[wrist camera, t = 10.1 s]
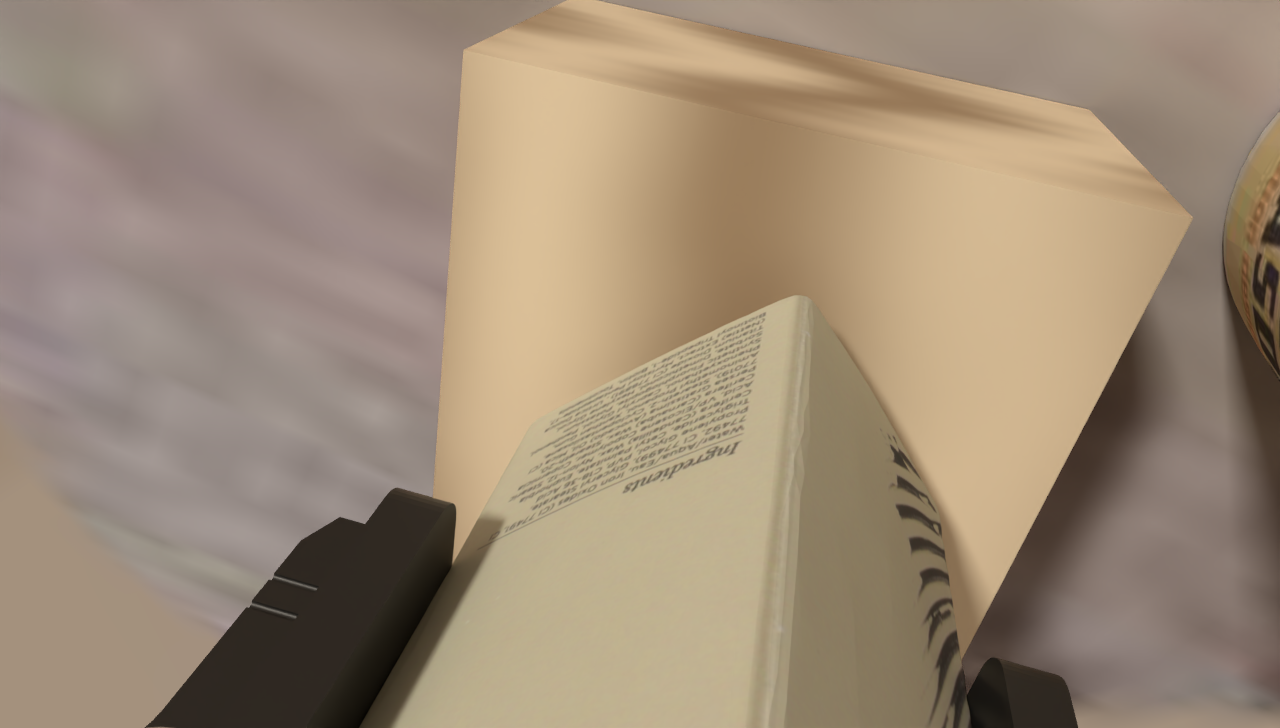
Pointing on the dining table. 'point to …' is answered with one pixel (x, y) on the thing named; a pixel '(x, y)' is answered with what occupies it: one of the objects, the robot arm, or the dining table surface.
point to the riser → (791, 249)
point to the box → (699, 558)
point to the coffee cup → (1257, 243)
